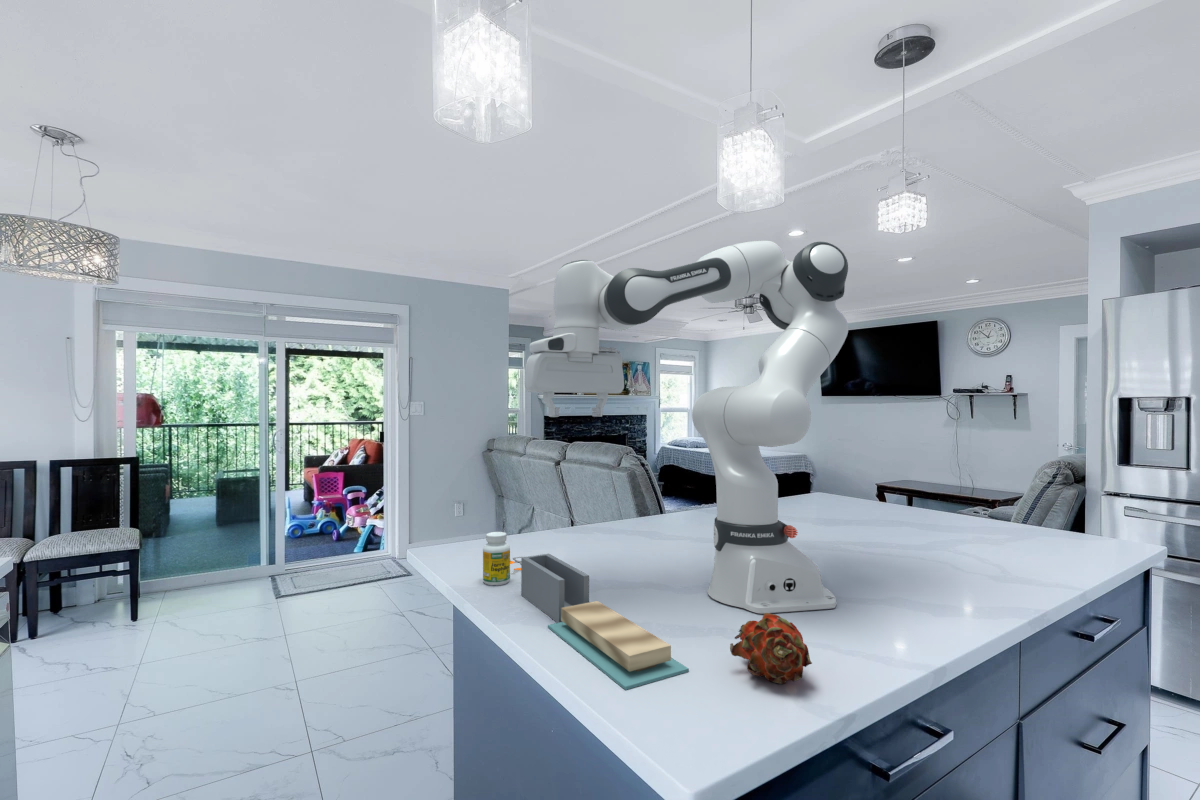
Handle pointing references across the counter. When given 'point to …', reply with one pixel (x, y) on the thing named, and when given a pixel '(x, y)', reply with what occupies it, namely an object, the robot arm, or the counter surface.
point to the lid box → (552, 584)
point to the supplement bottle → (496, 559)
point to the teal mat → (610, 665)
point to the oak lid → (616, 636)
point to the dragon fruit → (772, 649)
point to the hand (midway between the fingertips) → (576, 416)
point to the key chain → (516, 568)
